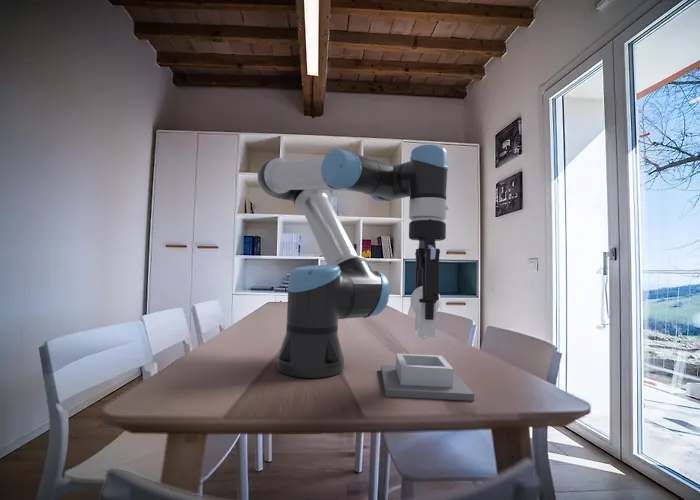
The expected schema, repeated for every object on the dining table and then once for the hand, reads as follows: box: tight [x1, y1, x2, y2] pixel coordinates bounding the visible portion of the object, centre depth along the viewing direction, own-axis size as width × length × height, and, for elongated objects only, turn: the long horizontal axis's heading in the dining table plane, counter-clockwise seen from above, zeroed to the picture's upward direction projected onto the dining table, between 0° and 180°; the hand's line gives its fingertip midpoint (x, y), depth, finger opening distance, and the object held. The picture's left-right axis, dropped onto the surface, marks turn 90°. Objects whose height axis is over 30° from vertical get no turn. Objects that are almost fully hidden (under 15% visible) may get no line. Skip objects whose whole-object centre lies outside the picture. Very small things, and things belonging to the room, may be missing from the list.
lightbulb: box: [410, 286, 442, 340], centre depth 73 cm, size 6×6×11 cm
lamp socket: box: [380, 353, 475, 402], centre depth 72 cm, size 16×16×5 cm
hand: (424, 332), depth 73 cm, fingers closed on lightbulb, 6 cm apart
